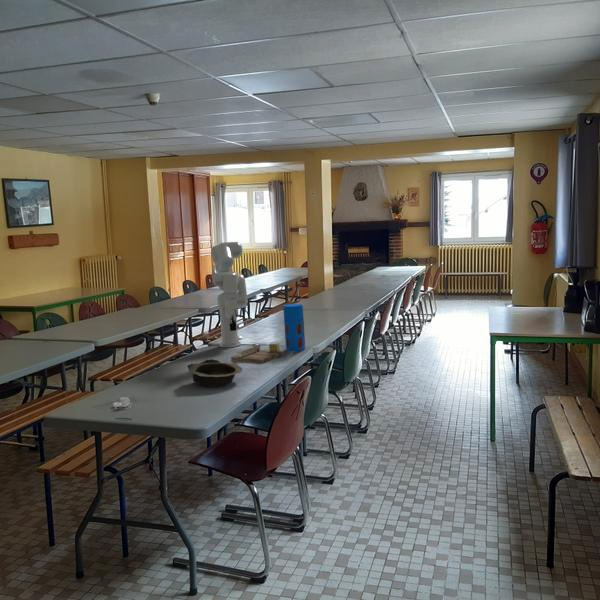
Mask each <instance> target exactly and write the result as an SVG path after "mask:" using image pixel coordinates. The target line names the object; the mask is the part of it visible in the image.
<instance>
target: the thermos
mask: <svg viewBox="0 0 600 600" xmlns="http://www.w3.org/2000/svg"><path fill="white" fill-rule="evenodd" d="M304 319H305V318H304V306H303V303H288V304H284V305H283V323H284V336H285V337H284V340H285V341H284V342H285V351H287V352H294V353H295V352H301V351H305V350H306V339H305V322H304V321H305V320H304Z"/></svg>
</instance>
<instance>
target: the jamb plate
mask: <svg viewBox="0 0 600 600" xmlns="http://www.w3.org/2000/svg"><path fill="white" fill-rule="evenodd" d="M284 354H285V353H284V350H282V351H281V350H279V352H271V351H270V349H269V350H268V349H260V351H256V352H253V353H251V354H248V355H245V356H243V357H237V354H236V355H233V356H231V357H230V358H231V361H232V362H240V363H250V364H251V363H254V364H263V365H264V364H267V362H270V361H273V360H276V359H278V358H280V357H282V356H284Z"/></svg>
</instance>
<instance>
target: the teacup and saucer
mask: <svg viewBox="0 0 600 600" xmlns="http://www.w3.org/2000/svg"><path fill="white" fill-rule="evenodd" d="M129 404H131V400H130V399H129V397H128V396H124V397H123V396H122V397H120V402H119V401H118V402H114V403H112V406H113V407H114V408H115V407H119V406H121V408H122V407H126V406H128V407H129V406H130V405H129ZM119 408H120V407H119ZM126 408H127V407H126Z"/></svg>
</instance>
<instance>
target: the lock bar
mask: <svg viewBox="0 0 600 600" xmlns="http://www.w3.org/2000/svg"><path fill="white" fill-rule="evenodd" d="M260 350H261V346H260V343H253V344H252V345H251V346H248V347H246V348H242V349H240V350H237V351H236V355H237V357H243V356H245V355H248V354H251V353H253V352H256V351H260Z"/></svg>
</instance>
